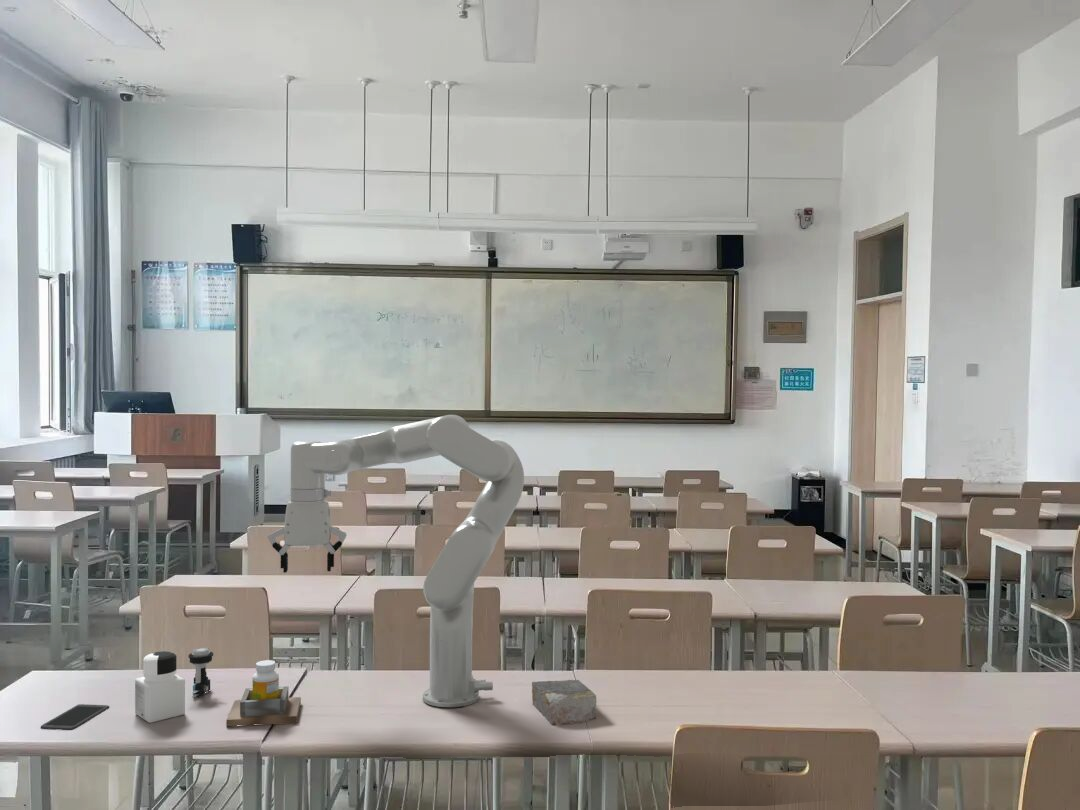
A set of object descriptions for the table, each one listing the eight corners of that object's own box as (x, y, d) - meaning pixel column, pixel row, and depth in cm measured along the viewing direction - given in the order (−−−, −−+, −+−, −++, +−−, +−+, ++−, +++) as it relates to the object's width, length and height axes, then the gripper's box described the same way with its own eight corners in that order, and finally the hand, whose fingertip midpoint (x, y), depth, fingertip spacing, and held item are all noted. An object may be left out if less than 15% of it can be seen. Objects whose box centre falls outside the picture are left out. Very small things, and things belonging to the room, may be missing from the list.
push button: (204, 699, 208) (204, 655, 208) (181, 699, 208) (181, 654, 208) (217, 690, 214) (217, 647, 214) (194, 689, 215) (194, 646, 215)
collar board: (300, 703, 206) (300, 683, 205) (296, 723, 194) (296, 701, 194) (234, 707, 203) (234, 686, 203) (226, 727, 191) (226, 705, 191)
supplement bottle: (247, 708, 198) (247, 662, 198) (270, 701, 202) (270, 657, 202) (260, 714, 195) (260, 668, 194) (283, 707, 198) (283, 662, 198)
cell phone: (110, 708, 203) (110, 705, 203) (72, 731, 189) (72, 728, 189) (79, 707, 204) (79, 703, 204) (38, 730, 190) (38, 726, 190)
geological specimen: (576, 677, 211) (600, 694, 197) (575, 704, 211) (600, 723, 196) (531, 679, 208) (552, 697, 193) (530, 707, 207) (551, 727, 193)
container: (170, 705, 204) (170, 646, 204) (185, 714, 198) (185, 654, 198) (134, 714, 198) (134, 653, 198) (149, 723, 193) (149, 661, 193)
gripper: (347, 493, 216) (346, 566, 216) (269, 494, 213) (269, 568, 213) (346, 497, 209) (345, 573, 209) (266, 498, 205) (266, 575, 206)
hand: (307, 570), depth 211 cm, fingers open, 9 cm apart
